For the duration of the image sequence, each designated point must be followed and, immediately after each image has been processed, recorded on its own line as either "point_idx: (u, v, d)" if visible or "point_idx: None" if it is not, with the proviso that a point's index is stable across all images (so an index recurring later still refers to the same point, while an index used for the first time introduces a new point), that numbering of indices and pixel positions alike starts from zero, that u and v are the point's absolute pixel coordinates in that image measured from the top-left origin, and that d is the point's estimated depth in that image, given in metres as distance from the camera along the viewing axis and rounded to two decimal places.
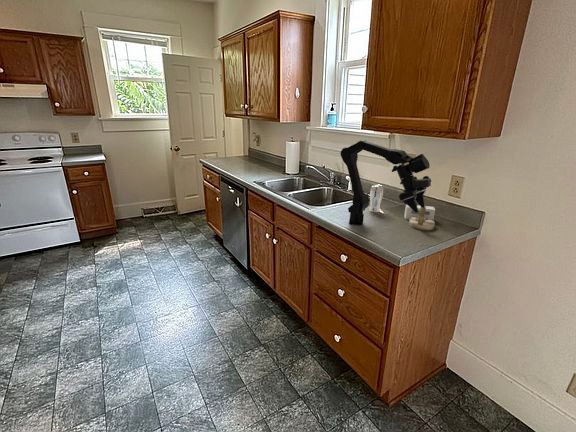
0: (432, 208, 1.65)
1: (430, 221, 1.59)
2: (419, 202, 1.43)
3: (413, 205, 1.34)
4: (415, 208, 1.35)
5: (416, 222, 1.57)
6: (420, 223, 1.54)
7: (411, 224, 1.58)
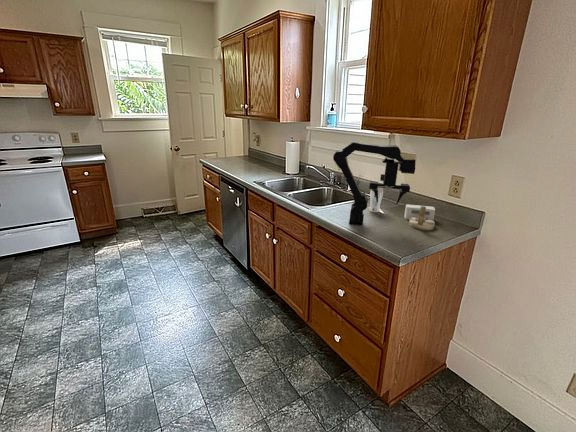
0: (432, 208, 1.65)
1: (430, 221, 1.59)
2: None
3: None
4: (398, 200, 1.54)
5: (416, 222, 1.57)
6: (420, 223, 1.54)
7: (411, 224, 1.58)
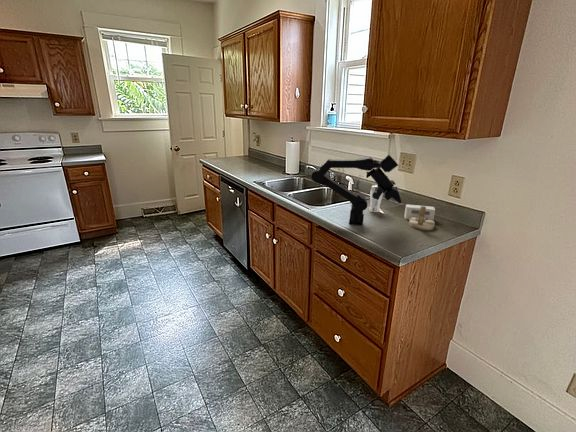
0: (432, 208, 1.65)
1: (430, 221, 1.59)
2: None
3: None
4: None
5: (416, 222, 1.57)
6: (420, 223, 1.54)
7: (411, 224, 1.58)
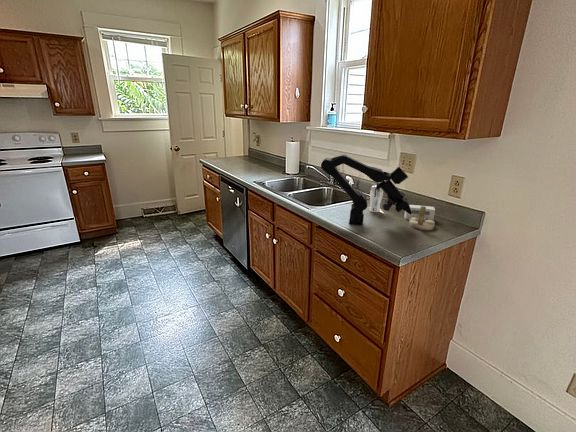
0: (432, 208, 1.65)
1: (430, 221, 1.59)
2: None
3: None
4: None
5: (416, 222, 1.57)
6: (420, 223, 1.54)
7: (411, 224, 1.58)
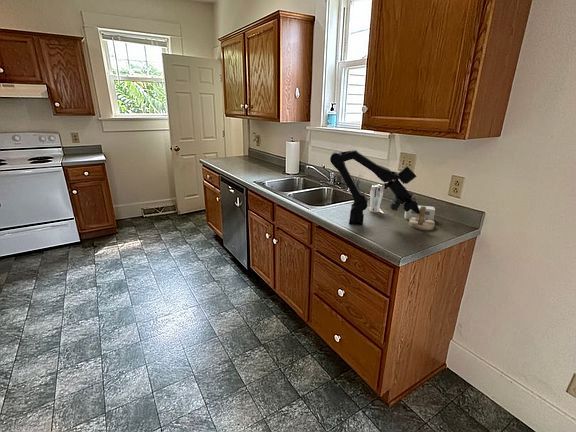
0: (432, 208, 1.65)
1: (430, 221, 1.59)
2: None
3: None
4: None
5: (416, 222, 1.57)
6: (420, 223, 1.54)
7: (411, 224, 1.58)
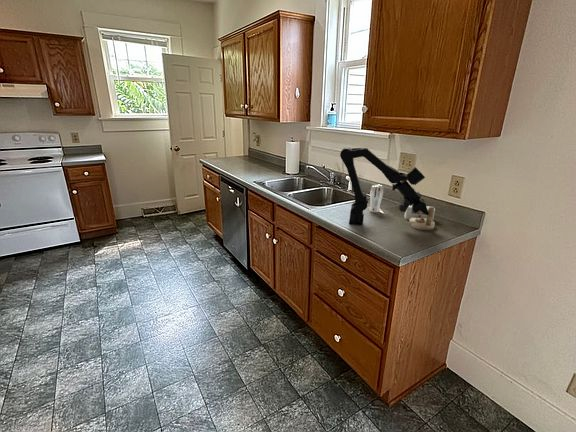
0: None
1: (425, 219, 1.62)
2: None
3: None
4: None
5: (423, 224, 1.56)
6: (430, 224, 1.54)
7: (419, 227, 1.55)
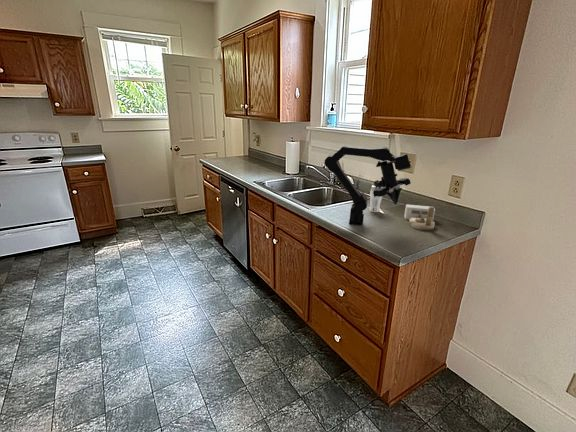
0: None
1: (425, 219, 1.62)
2: None
3: None
4: None
5: (423, 224, 1.56)
6: (430, 224, 1.54)
7: (420, 227, 1.55)
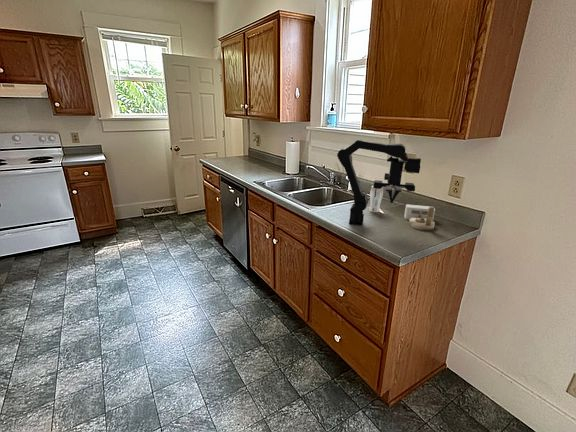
0: None
1: (425, 219, 1.62)
2: (391, 197, 1.51)
3: (395, 196, 1.52)
4: None
5: (423, 224, 1.56)
6: (430, 224, 1.54)
7: (420, 227, 1.55)
